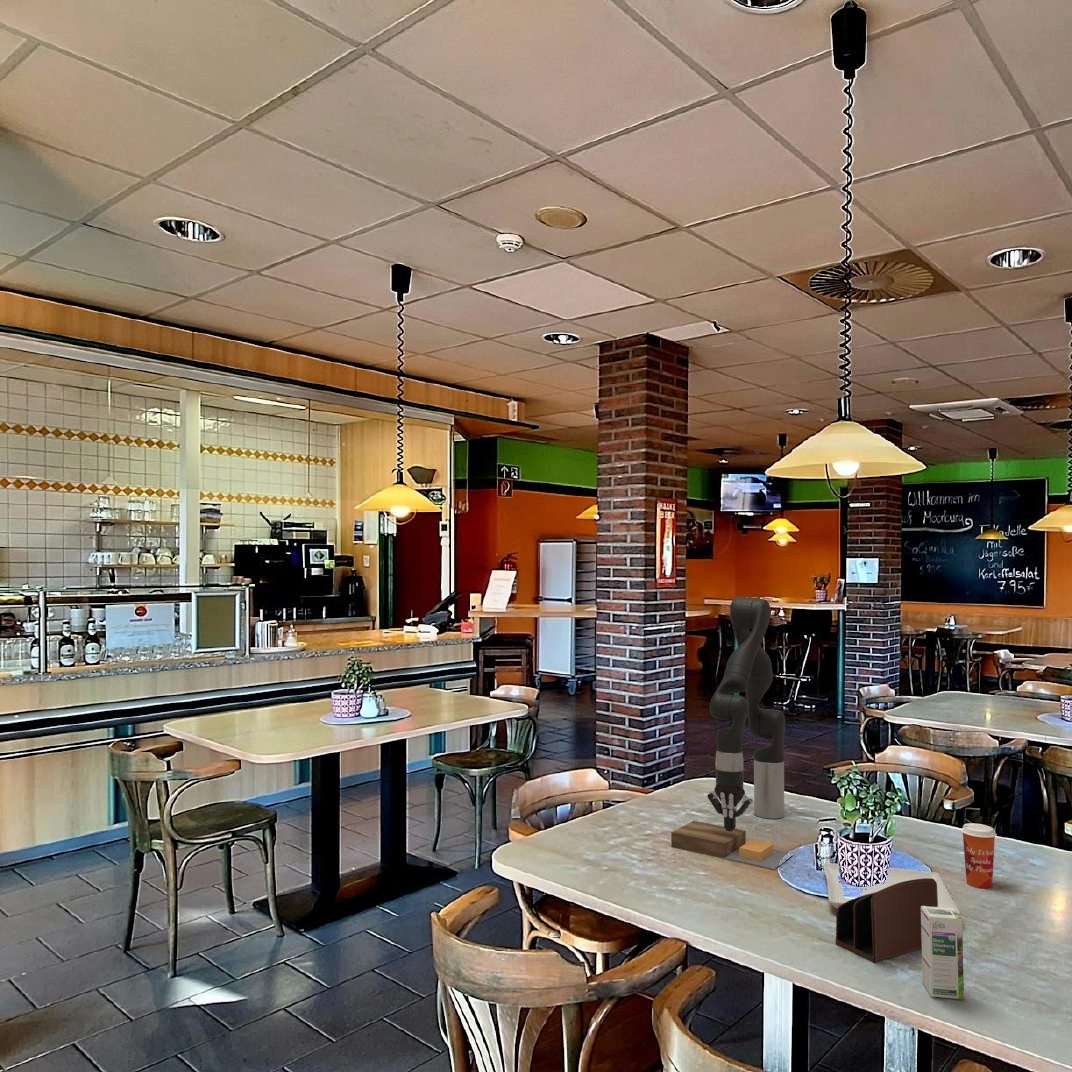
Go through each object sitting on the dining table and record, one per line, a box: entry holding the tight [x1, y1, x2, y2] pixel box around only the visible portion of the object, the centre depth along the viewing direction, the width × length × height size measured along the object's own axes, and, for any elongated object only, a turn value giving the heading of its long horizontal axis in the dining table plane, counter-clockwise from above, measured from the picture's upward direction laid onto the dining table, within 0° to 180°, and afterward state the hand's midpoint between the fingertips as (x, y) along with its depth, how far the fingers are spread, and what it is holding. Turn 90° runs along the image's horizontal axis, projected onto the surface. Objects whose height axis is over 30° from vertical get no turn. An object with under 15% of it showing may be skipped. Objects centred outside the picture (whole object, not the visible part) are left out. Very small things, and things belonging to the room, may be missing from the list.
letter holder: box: [835, 878, 938, 964], centre depth 176 cm, size 10×20×14 cm, turn 119°
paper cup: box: [961, 822, 998, 890], centre depth 210 cm, size 8×8×14 cm
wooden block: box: [670, 820, 747, 859], centre depth 237 cm, size 14×16×4 cm
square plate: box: [822, 862, 961, 916], centre depth 200 cm, size 27×27×4 cm
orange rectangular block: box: [739, 839, 775, 862], centre depth 229 cm, size 9×6×2 cm, turn 143°
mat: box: [723, 848, 790, 871], centre depth 228 cm, size 15×14×1 cm
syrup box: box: [921, 906, 965, 1001], centre depth 156 cm, size 6×6×14 cm
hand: (729, 830), depth 234 cm, fingers closed
